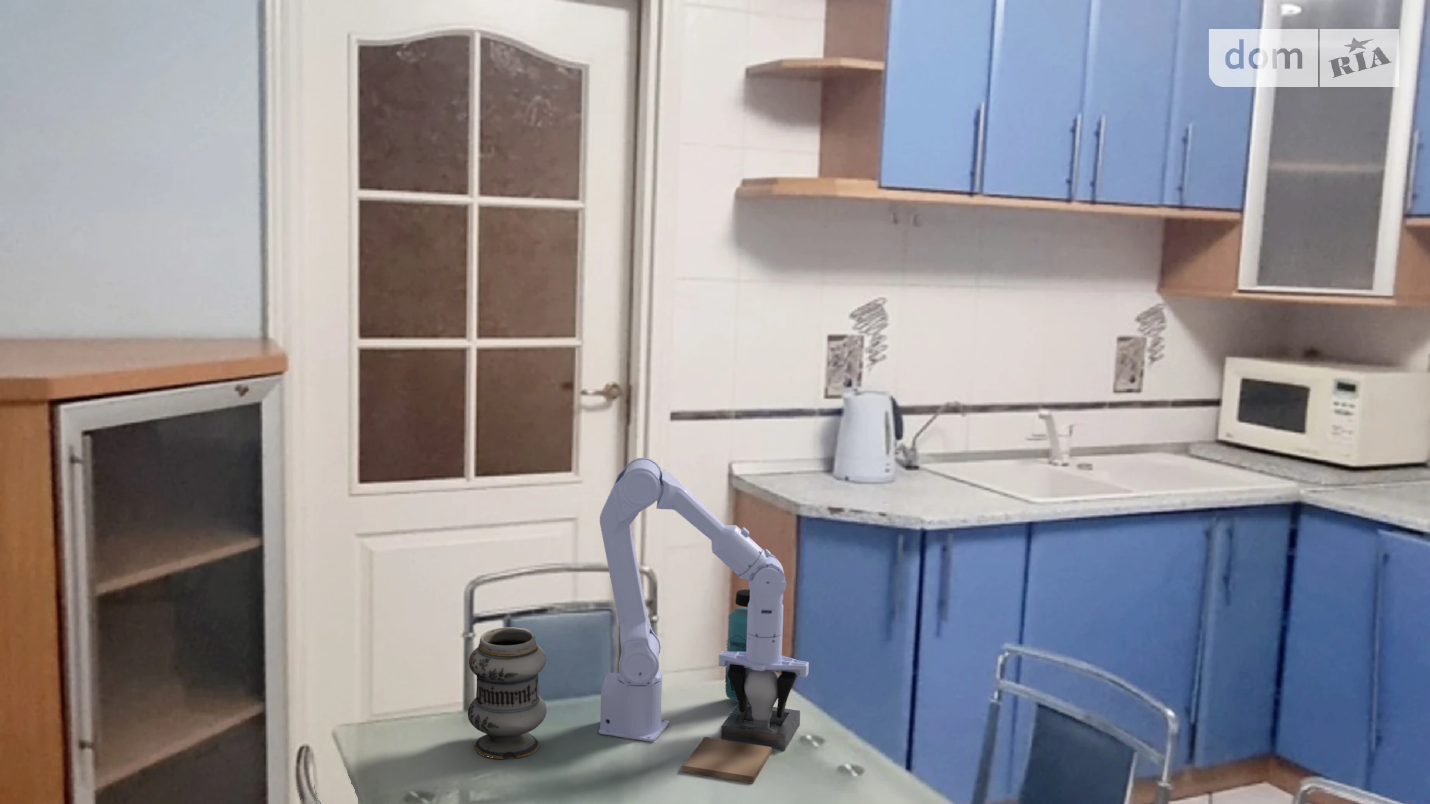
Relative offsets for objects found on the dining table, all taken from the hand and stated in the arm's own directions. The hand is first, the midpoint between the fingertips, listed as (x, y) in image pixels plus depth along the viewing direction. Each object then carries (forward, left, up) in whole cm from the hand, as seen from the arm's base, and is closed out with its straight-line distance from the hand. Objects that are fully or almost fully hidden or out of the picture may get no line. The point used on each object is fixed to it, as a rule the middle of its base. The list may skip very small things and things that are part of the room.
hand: (761, 712), depth 195 cm
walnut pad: (-2, -12, -3) cm, 13 cm away
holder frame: (0, 0, -3) cm, 3 cm away
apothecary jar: (-36, -19, -4) cm, 41 cm away
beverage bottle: (-6, +11, -4) cm, 13 cm away
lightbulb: (0, 0, -4) cm, 4 cm away
